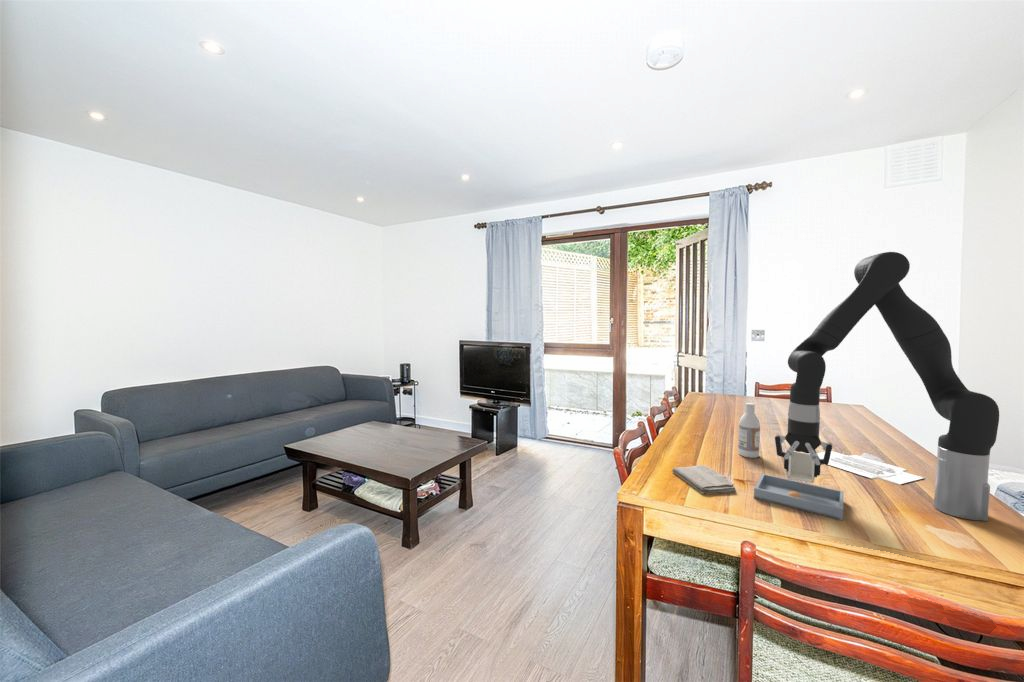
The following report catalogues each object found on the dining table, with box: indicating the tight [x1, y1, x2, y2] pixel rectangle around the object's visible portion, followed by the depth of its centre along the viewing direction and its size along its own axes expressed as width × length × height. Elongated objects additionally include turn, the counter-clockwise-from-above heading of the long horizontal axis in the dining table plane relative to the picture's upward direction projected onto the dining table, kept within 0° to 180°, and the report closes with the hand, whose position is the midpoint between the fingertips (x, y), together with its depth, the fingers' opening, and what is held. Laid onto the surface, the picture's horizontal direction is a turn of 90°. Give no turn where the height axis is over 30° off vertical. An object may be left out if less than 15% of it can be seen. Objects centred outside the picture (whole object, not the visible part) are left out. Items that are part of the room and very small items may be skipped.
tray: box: [753, 473, 845, 522], centre depth 115 cm, size 20×14×3 cm
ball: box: [788, 491, 801, 498], centre depth 112 cm, size 3×3×3 cm
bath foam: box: [737, 402, 761, 459], centre depth 151 cm, size 7×7×20 cm
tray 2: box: [817, 450, 926, 486], centre depth 140 cm, size 20×28×4 cm
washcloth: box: [671, 464, 737, 495], centre depth 127 cm, size 12×18×3 cm, turn 9°
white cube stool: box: [787, 451, 815, 484], centre depth 118 cm, size 6×6×6 cm
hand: (801, 473), depth 118 cm, fingers closed on white cube stool, 6 cm apart
